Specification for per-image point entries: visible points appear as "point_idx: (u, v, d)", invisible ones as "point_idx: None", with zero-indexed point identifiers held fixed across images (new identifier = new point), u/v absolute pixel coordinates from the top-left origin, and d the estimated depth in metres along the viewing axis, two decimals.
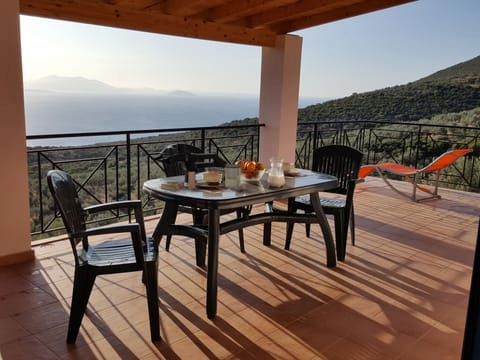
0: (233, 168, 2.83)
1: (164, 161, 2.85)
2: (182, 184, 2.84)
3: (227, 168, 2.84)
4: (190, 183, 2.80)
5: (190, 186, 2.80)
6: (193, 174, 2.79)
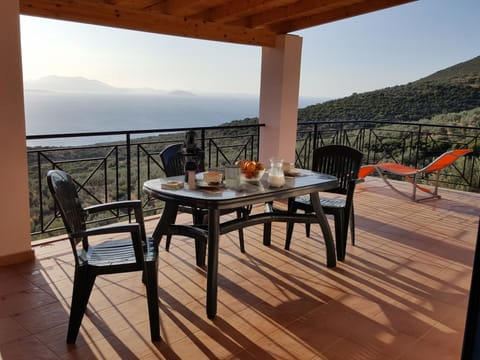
0: (233, 168, 2.83)
1: (199, 161, 2.89)
2: (182, 184, 2.84)
3: (227, 168, 2.84)
4: (190, 183, 2.80)
5: (190, 186, 2.80)
6: (193, 174, 2.79)
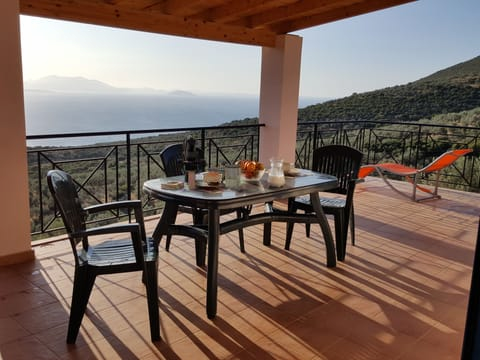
0: (233, 168, 2.83)
1: (200, 169, 2.85)
2: (182, 184, 2.84)
3: (227, 168, 2.84)
4: (190, 183, 2.80)
5: (190, 186, 2.80)
6: (193, 174, 2.79)
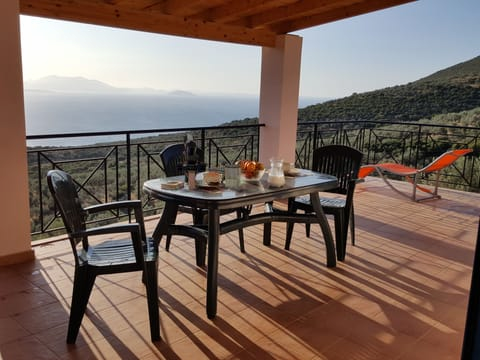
0: (233, 168, 2.83)
1: (196, 172, 2.83)
2: (182, 184, 2.84)
3: (227, 168, 2.84)
4: (190, 183, 2.80)
5: (190, 186, 2.80)
6: (193, 174, 2.79)
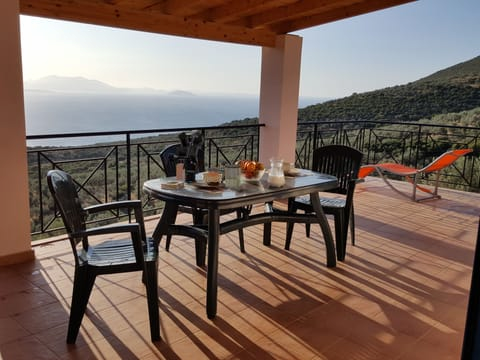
0: (233, 168, 2.83)
1: (186, 164, 2.81)
2: (182, 184, 2.84)
3: (227, 168, 2.84)
4: (178, 174, 2.78)
5: (178, 177, 2.79)
6: (181, 166, 2.77)
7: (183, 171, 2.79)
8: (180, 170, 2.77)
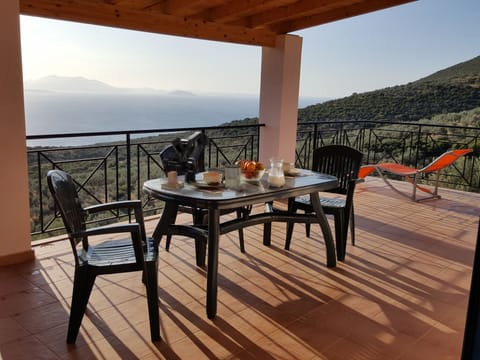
0: (233, 168, 2.83)
1: (181, 170, 2.81)
2: (182, 184, 2.84)
3: (227, 168, 2.84)
4: (169, 182, 2.81)
5: None
6: (172, 174, 2.79)
7: (175, 179, 2.81)
8: (171, 178, 2.79)
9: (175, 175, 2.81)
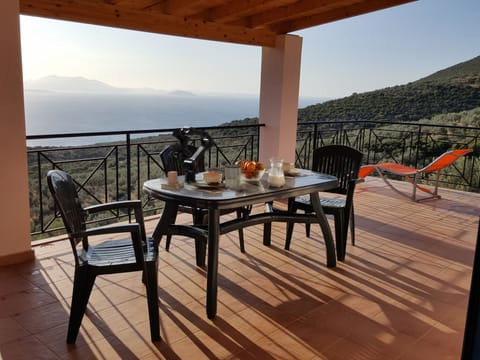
0: (233, 168, 2.83)
1: (183, 159, 2.85)
2: (182, 184, 2.84)
3: (227, 168, 2.84)
4: (169, 182, 2.81)
5: None
6: (172, 174, 2.79)
7: (175, 179, 2.81)
8: (171, 178, 2.79)
9: (175, 175, 2.81)
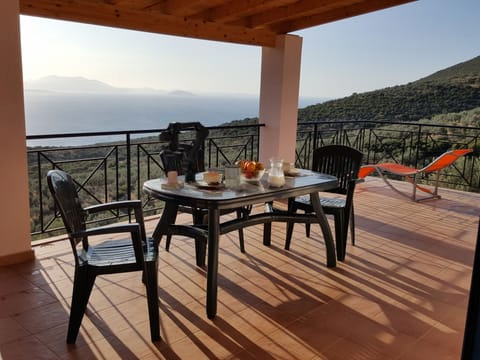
0: (233, 168, 2.83)
1: (170, 159, 2.86)
2: (182, 184, 2.84)
3: (227, 168, 2.84)
4: (169, 182, 2.81)
5: None
6: (172, 174, 2.79)
7: (175, 179, 2.81)
8: (171, 178, 2.79)
9: (175, 175, 2.81)
